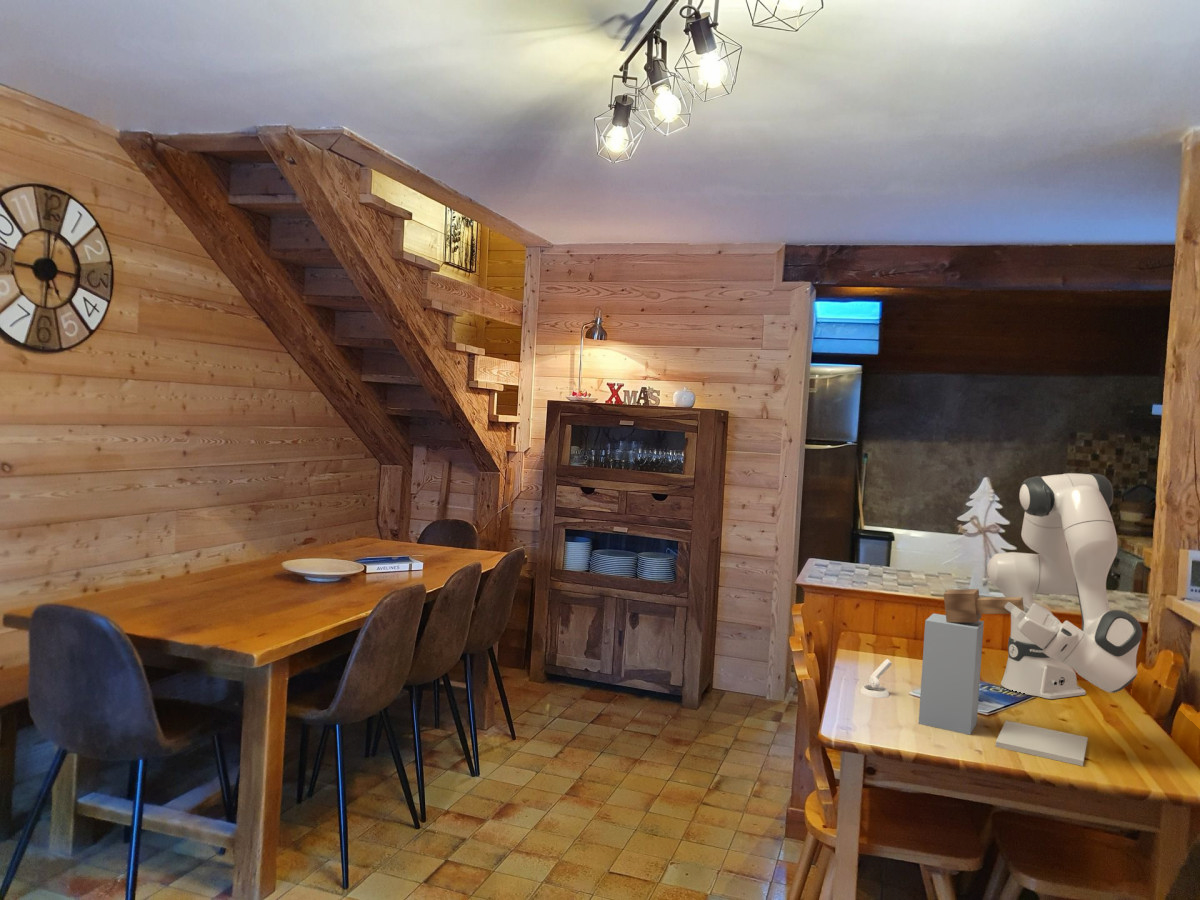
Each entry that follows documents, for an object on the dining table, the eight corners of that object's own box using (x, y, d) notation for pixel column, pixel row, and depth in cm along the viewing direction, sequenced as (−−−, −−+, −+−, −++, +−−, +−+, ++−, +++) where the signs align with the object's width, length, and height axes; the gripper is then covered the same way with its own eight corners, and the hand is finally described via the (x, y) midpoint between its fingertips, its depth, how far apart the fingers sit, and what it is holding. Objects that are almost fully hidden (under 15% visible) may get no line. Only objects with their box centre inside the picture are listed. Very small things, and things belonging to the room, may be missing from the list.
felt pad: (1087, 742, 211) (1087, 737, 211) (1082, 766, 196) (1083, 760, 196) (1005, 725, 220) (1005, 720, 220) (995, 746, 205) (995, 741, 205)
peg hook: (1025, 617, 213) (1022, 588, 213) (1022, 622, 207) (1019, 593, 207) (951, 617, 222) (949, 589, 222) (946, 622, 216) (943, 593, 216)
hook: (912, 681, 237) (894, 667, 235) (882, 713, 239) (864, 699, 237) (900, 667, 244) (883, 653, 242) (871, 698, 246) (854, 685, 244)
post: (976, 723, 221) (983, 621, 219) (970, 734, 212) (977, 628, 211) (926, 712, 227) (933, 613, 226) (918, 723, 218) (925, 620, 217)
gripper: (1072, 620, 214) (1020, 585, 220) (1066, 637, 196) (1010, 599, 202) (1056, 640, 216) (1005, 604, 222) (1048, 659, 198) (993, 620, 204)
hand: (1007, 602), depth 212 cm, fingers closed on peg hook, 3 cm apart
